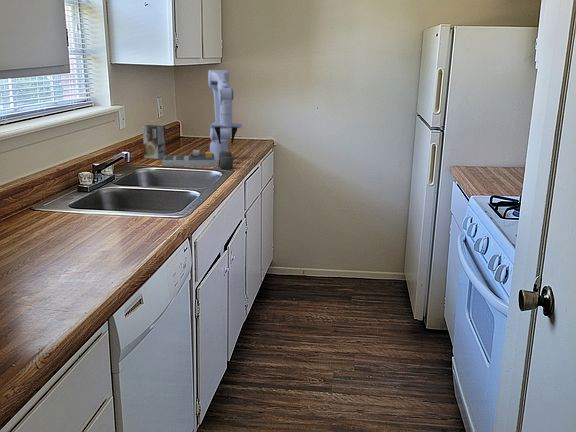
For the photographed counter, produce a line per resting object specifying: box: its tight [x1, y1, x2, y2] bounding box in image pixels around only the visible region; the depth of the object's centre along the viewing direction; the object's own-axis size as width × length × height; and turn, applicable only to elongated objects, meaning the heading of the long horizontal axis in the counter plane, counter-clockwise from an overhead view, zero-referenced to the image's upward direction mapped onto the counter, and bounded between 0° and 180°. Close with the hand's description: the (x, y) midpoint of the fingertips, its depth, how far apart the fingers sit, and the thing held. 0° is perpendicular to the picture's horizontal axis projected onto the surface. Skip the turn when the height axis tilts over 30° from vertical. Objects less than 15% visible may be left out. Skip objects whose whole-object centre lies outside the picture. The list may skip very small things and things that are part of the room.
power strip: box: [161, 149, 220, 168], centre depth 276 cm, size 26×13×6 cm, turn 98°
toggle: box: [205, 151, 212, 158], centre depth 274 cm, size 3×4×3 cm
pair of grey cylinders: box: [219, 151, 234, 170], centre depth 275 cm, size 6×21×5 cm, turn 8°
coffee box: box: [142, 124, 167, 160], centre depth 290 cm, size 9×6×16 cm
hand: (225, 143), depth 273 cm, fingers open, 5 cm apart
